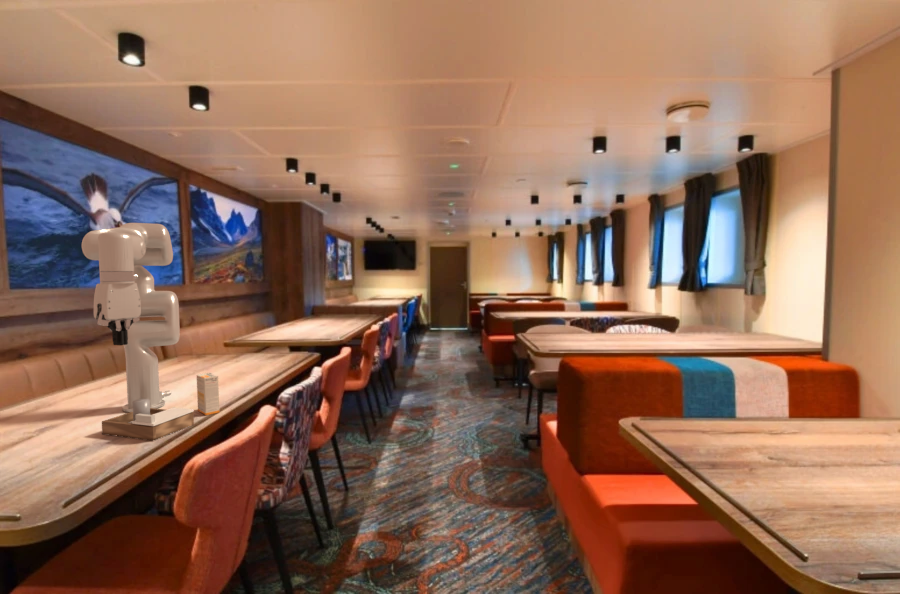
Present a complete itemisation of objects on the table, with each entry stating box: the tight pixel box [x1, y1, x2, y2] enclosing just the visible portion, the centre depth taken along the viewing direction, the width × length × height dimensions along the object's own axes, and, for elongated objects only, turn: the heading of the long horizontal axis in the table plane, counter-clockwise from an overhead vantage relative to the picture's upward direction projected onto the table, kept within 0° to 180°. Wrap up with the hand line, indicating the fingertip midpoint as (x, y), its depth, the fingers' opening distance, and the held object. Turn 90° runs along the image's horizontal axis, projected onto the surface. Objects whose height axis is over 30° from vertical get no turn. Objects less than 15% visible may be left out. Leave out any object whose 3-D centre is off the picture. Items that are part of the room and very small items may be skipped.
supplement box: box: [196, 372, 220, 416], centre depth 152 cm, size 8×5×13 cm, turn 47°
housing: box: [101, 408, 195, 441], centre depth 135 cm, size 14×20×4 cm
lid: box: [132, 406, 195, 426], centre depth 133 cm, size 14×8×3 cm, turn 164°
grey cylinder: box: [128, 399, 150, 424], centre depth 136 cm, size 6×7×8 cm
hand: (120, 344), depth 119 cm, fingers closed
